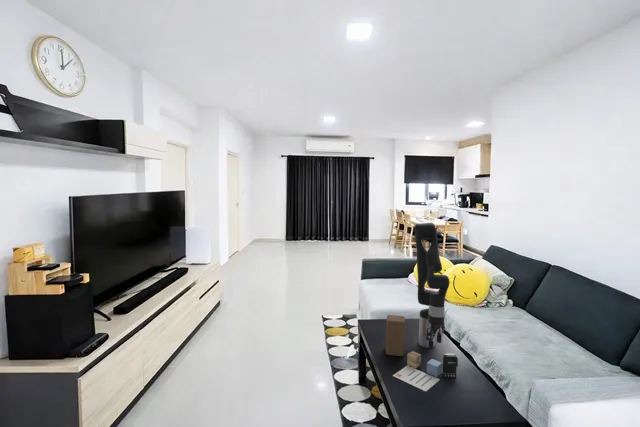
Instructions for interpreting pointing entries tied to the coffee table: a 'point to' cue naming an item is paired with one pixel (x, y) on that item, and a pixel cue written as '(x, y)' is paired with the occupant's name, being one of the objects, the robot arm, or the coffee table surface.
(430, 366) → the blue cube
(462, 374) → the coffee table surface
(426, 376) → the letter
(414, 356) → the oak block
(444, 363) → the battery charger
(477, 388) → the coffee table surface
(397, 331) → the wooden block
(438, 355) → the coffee table surface
